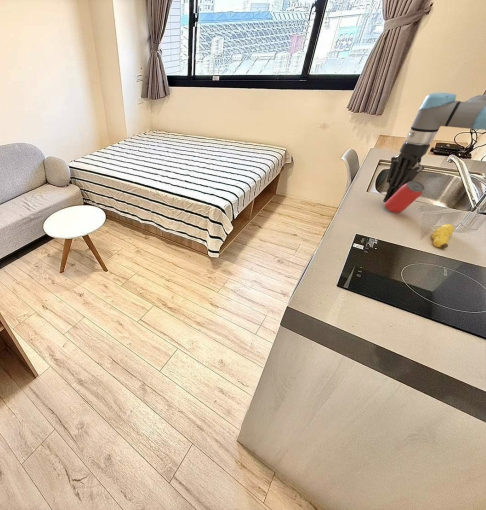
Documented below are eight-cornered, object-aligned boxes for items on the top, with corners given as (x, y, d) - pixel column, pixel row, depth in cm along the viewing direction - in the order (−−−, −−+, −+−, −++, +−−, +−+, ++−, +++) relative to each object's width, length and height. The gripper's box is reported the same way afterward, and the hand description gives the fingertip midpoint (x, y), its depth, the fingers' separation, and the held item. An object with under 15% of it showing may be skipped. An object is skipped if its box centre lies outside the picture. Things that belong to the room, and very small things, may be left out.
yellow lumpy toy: (435, 226, 100) (444, 219, 97) (450, 234, 98) (459, 226, 95) (425, 243, 92) (434, 236, 90) (441, 252, 90) (451, 244, 87)
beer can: (386, 213, 110) (408, 191, 100) (382, 200, 114) (403, 179, 103) (404, 214, 109) (429, 193, 99) (400, 201, 113) (423, 180, 102)
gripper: (393, 138, 105) (367, 195, 119) (422, 148, 95) (389, 209, 109) (413, 137, 105) (384, 194, 119) (443, 146, 95) (408, 208, 109)
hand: (387, 201), depth 114 cm, fingers closed
